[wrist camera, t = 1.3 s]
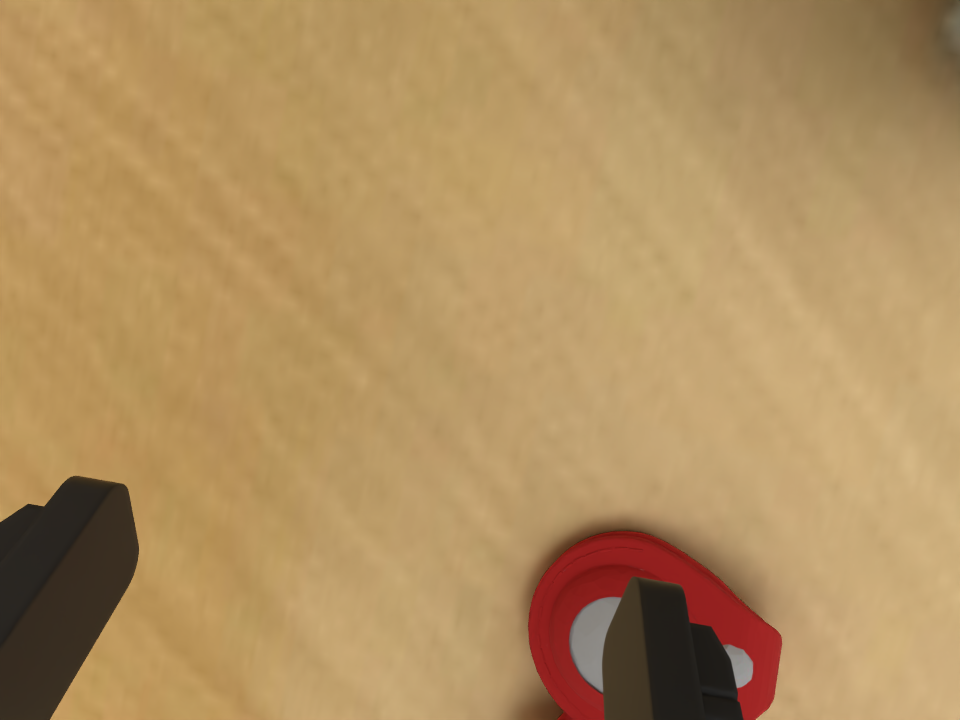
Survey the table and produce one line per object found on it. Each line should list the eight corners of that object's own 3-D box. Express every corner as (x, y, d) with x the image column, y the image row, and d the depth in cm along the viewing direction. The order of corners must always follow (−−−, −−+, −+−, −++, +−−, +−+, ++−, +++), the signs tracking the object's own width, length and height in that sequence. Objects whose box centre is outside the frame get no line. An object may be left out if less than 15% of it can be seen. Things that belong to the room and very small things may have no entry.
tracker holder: (521, 520, 29) (795, 577, 25) (552, 500, 33) (790, 547, 29) (487, 818, 29) (752, 918, 25) (522, 762, 33) (754, 840, 29)
